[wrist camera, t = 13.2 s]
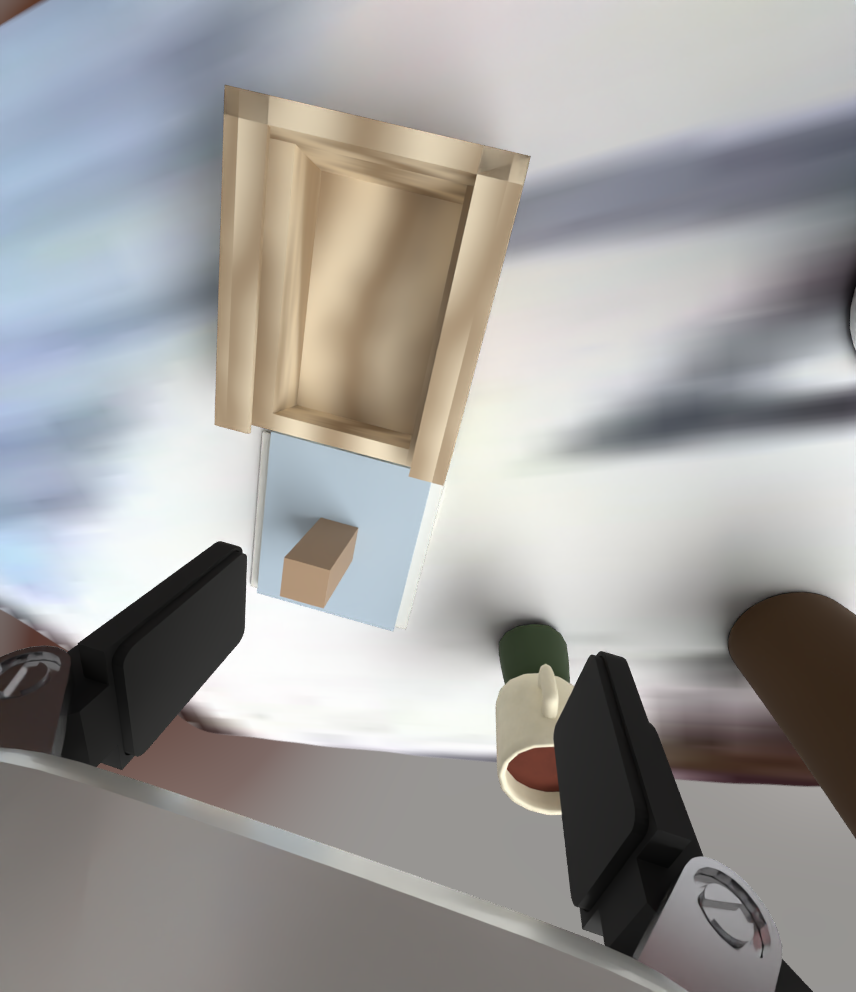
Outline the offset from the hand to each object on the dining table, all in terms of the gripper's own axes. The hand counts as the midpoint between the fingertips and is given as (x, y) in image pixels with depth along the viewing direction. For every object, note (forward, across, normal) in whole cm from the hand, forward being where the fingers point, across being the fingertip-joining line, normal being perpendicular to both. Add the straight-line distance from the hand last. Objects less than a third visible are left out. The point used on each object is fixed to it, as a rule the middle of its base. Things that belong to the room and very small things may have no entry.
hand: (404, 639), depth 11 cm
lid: (+23, +9, +12) cm, 27 cm away
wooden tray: (+24, +9, -7) cm, 26 cm away
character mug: (+24, -10, +19) cm, 32 cm away
